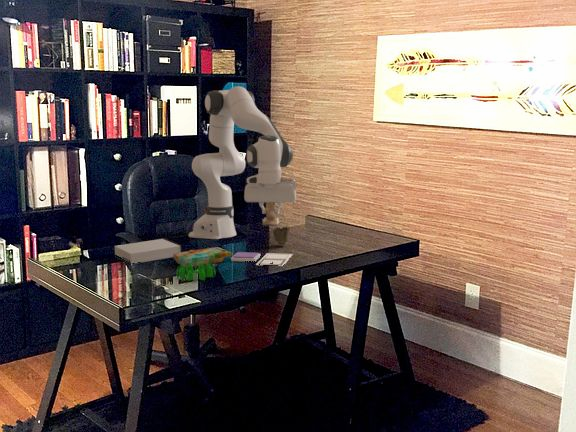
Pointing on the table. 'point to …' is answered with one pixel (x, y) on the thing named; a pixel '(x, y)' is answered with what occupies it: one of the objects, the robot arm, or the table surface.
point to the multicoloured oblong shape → (201, 256)
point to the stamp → (270, 215)
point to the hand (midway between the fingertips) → (270, 213)
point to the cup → (281, 235)
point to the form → (274, 259)
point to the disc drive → (148, 250)
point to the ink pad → (245, 256)
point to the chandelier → (191, 272)
